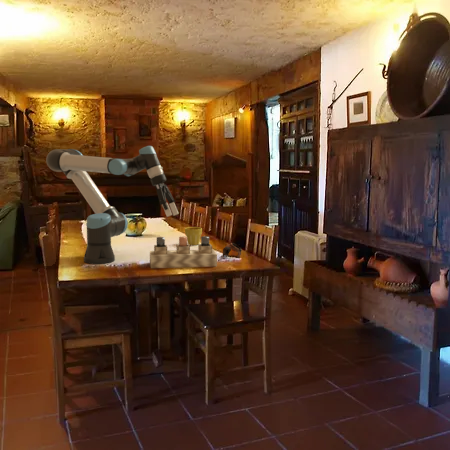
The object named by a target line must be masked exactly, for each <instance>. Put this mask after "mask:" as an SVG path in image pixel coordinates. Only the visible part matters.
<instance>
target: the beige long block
mask: <svg viewBox="0 0 450 450" xmlns="http://www.w3.org/2000/svg"><path fill="white" fill-rule="evenodd" d="M197 248H198V249H191V245H189V244H188V243H187V246H186V247H180V246H179V244H176V249H175V250H171V249H170V250H168V246H167V244H165V247H157V244H154V245H153V250H149V264H150V265H149V267H150V269H168V268H169V269H170V268H172V269H173V268H175V269H176V268H202V267H203V268H204V267H218V254H217V252H216V251H215V249H213V245H212V244H211V243H209V246H201V243H199V244H198V247H197Z"/></svg>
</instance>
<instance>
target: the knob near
mask: <svg viewBox="0 0 450 450" xmlns="http://www.w3.org/2000/svg"><path fill="white" fill-rule="evenodd" d="M156 245H157V247H165V245H166V237H165V236H157V237H156Z"/></svg>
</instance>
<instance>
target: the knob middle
mask: <svg viewBox="0 0 450 450" xmlns="http://www.w3.org/2000/svg"><path fill="white" fill-rule="evenodd" d="M187 244H188V241H187V236H178V245H179V246H180V247H186V246H187Z"/></svg>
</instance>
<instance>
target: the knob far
mask: <svg viewBox="0 0 450 450" xmlns="http://www.w3.org/2000/svg"><path fill="white" fill-rule="evenodd" d="M200 244H201V246H209V244H210V236H207V235H204V236H203V235H201V237H200Z"/></svg>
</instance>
